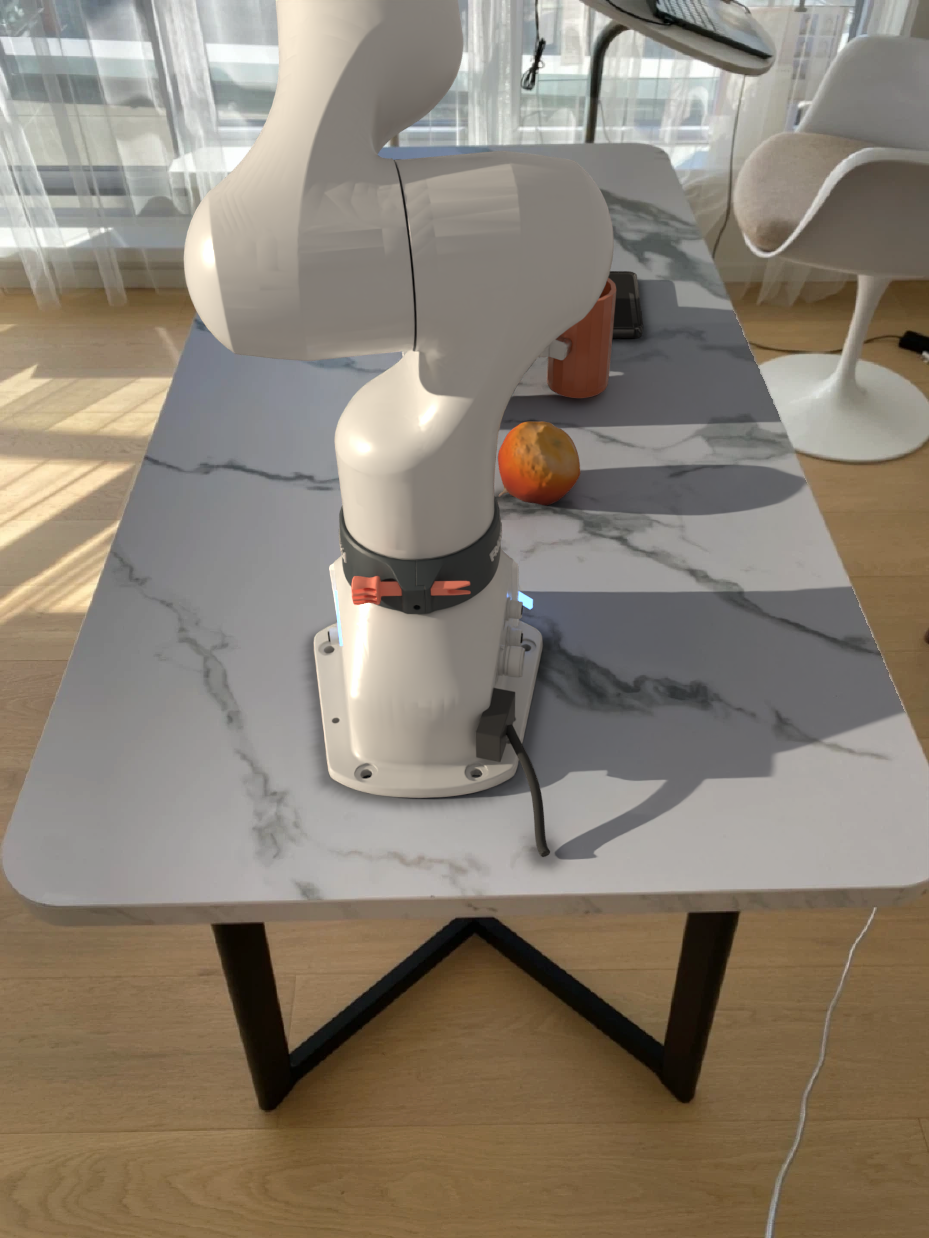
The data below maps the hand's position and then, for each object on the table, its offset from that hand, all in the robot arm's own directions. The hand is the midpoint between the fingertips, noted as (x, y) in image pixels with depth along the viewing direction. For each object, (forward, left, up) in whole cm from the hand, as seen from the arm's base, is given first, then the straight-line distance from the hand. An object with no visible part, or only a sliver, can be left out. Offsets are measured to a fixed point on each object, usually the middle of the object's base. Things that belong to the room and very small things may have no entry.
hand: (588, 333), depth 109 cm
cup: (+1, +1, -6) cm, 6 cm away
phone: (+19, -4, -7) cm, 21 cm away
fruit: (-18, +6, -7) cm, 20 cm away
